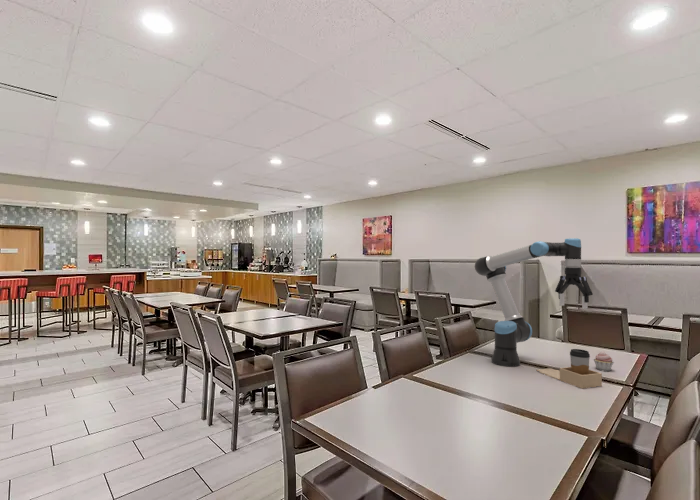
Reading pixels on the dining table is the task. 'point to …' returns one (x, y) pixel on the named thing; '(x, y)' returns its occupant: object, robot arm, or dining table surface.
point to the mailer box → (574, 377)
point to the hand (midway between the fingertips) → (573, 307)
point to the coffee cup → (579, 361)
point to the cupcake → (603, 361)
